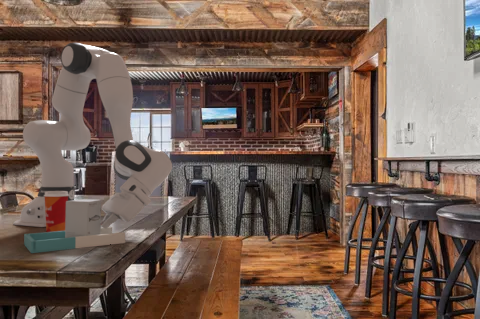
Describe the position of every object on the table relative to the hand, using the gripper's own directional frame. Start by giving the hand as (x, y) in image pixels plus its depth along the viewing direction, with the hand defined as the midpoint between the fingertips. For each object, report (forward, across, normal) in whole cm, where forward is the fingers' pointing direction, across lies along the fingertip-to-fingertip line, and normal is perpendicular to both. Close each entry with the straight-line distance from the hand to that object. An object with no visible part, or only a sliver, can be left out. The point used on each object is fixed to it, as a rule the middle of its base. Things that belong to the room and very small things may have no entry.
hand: (102, 226), depth 123 cm
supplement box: (+7, 0, -1) cm, 7 cm away
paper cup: (+10, -19, -3) cm, 22 cm away
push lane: (+8, 0, -2) cm, 8 cm away
